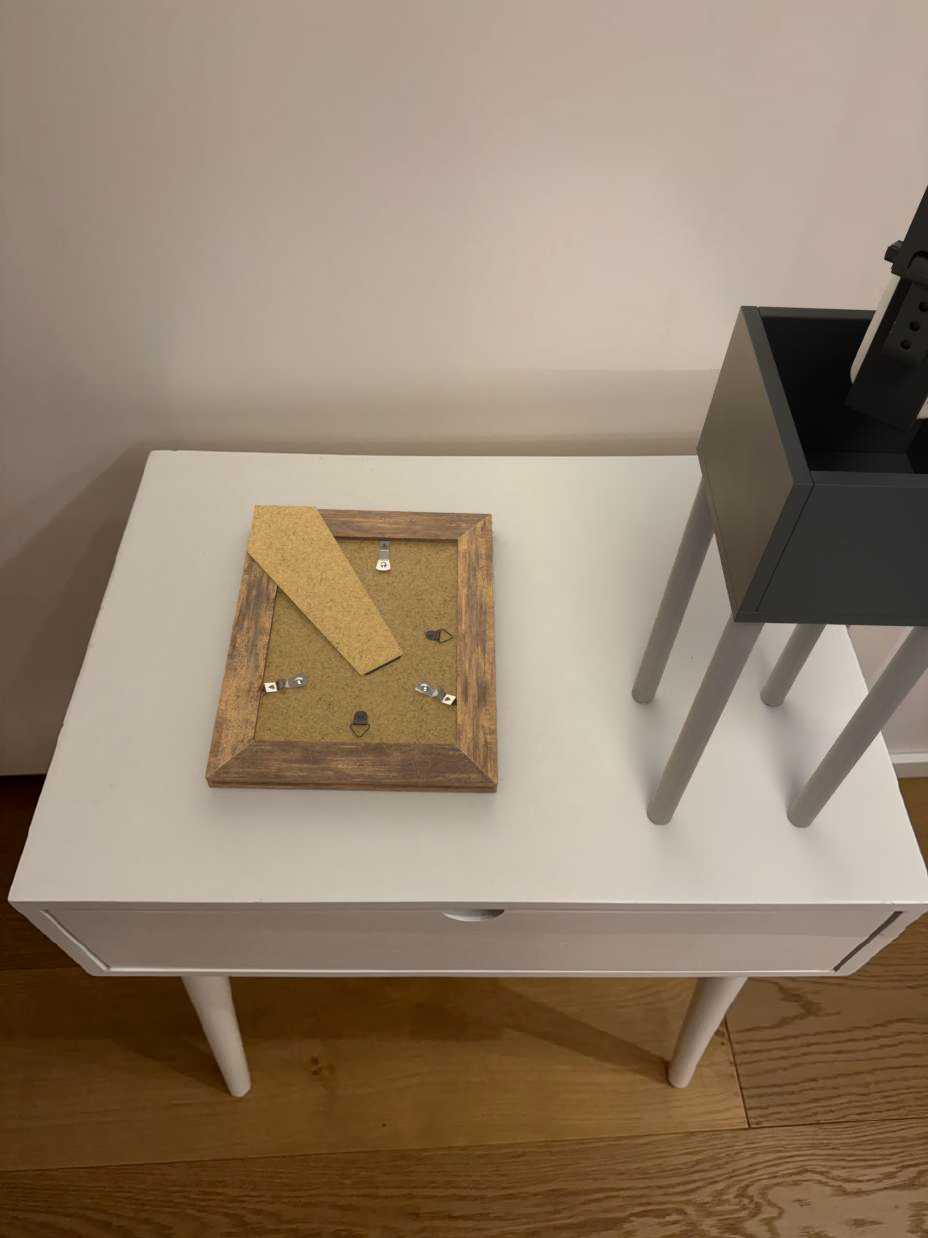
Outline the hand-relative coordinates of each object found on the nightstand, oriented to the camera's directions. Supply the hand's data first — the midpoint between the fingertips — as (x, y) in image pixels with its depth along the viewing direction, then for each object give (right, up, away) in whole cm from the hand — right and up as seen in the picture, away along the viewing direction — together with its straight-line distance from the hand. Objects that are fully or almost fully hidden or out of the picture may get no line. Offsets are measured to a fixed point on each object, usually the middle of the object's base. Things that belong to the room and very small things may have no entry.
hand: (903, 382), depth 40 cm
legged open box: (-1, -19, +25) cm, 31 cm away
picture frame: (-26, -12, +29) cm, 41 cm away
